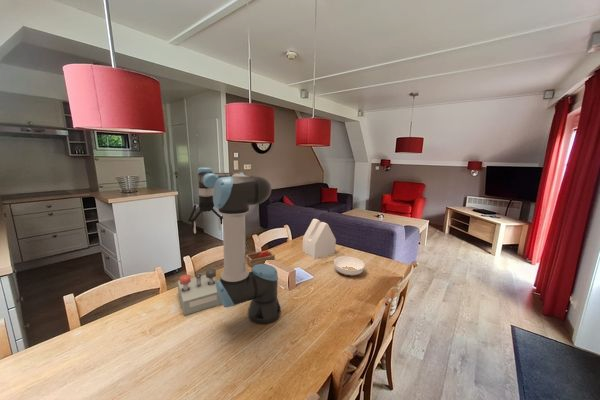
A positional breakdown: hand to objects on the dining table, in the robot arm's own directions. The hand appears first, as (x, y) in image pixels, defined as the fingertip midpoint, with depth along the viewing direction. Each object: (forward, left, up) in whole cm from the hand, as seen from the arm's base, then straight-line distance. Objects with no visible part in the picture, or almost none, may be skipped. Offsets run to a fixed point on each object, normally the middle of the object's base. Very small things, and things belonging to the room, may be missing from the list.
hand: (207, 231), depth 140 cm
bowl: (-39, -78, -28) cm, 91 cm away
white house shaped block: (-6, -79, -28) cm, 84 cm away
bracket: (+1, -34, -28) cm, 44 cm away
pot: (-22, +10, -21) cm, 32 cm away
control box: (-22, +10, -28) cm, 37 cm away
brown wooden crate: (+1, -34, -28) cm, 44 cm away
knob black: (-22, +4, -23) cm, 32 cm away
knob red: (-22, +16, -23) cm, 35 cm away
